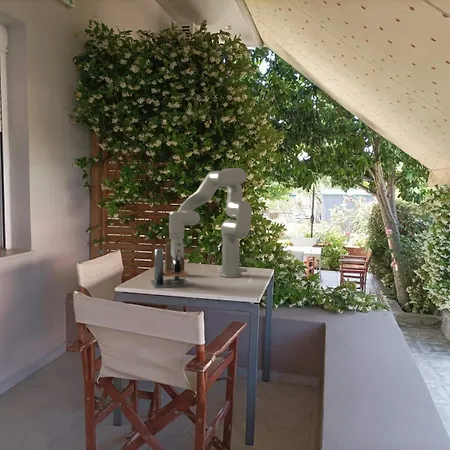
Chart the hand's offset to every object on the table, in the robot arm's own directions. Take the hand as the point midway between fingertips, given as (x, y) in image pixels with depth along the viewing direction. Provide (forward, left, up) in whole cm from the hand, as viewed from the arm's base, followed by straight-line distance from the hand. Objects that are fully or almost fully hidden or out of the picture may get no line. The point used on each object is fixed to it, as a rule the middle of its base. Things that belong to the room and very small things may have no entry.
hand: (176, 270), depth 226 cm
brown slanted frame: (-4, -23, -7) cm, 24 cm away
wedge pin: (0, 0, -5) cm, 5 cm away
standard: (+3, 0, -7) cm, 7 cm away
